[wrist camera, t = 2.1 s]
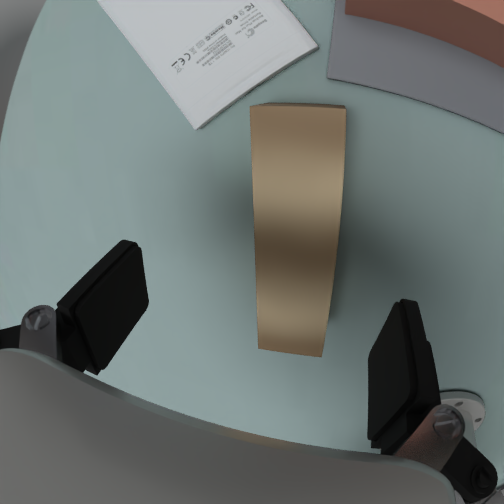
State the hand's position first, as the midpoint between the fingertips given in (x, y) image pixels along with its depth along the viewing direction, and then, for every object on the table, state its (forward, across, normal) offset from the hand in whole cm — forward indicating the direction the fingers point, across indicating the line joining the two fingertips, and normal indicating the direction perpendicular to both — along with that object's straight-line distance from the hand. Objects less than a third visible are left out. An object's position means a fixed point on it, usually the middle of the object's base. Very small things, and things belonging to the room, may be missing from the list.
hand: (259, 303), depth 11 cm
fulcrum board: (+9, -7, -13) cm, 17 cm away
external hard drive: (+10, +7, -11) cm, 16 cm away
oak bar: (+9, -1, +1) cm, 9 cm away
